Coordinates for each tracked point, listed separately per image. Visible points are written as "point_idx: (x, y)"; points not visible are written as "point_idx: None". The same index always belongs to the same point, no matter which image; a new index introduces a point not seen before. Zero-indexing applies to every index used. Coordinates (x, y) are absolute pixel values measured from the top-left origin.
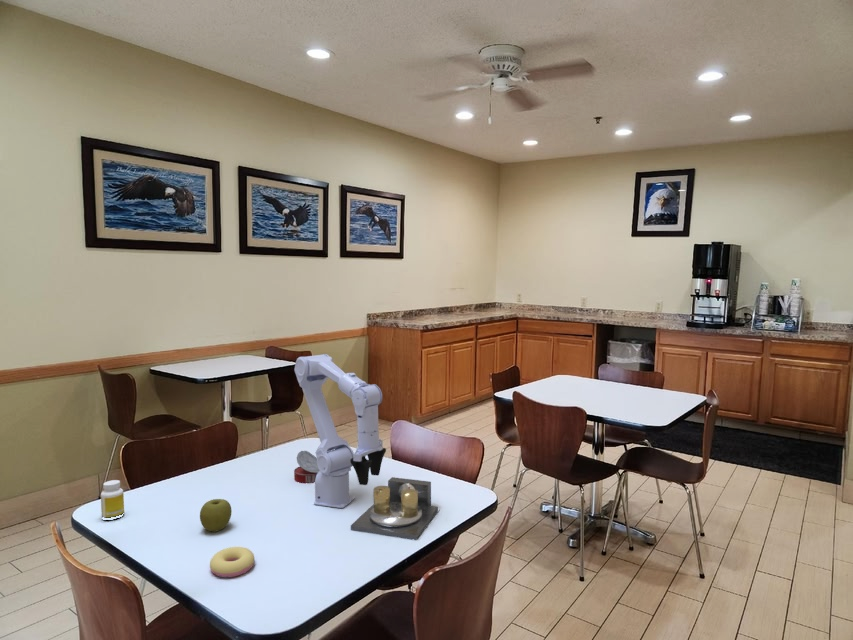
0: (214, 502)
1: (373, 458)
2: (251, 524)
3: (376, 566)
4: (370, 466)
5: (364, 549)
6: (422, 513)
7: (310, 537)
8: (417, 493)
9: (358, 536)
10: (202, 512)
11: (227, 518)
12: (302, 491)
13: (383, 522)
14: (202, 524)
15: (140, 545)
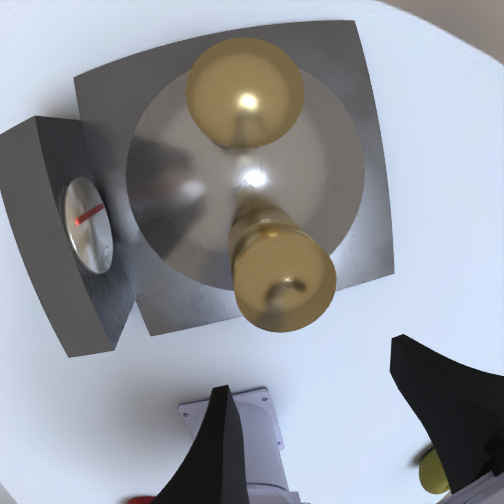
0: (448, 485)
1: (242, 499)
2: (412, 440)
3: (494, 83)
4: (243, 460)
5: (459, 152)
6: (164, 87)
7: (445, 322)
8: (223, 43)
9: (411, 217)
10: None
11: None
12: None
13: (362, 165)
14: None
15: None
